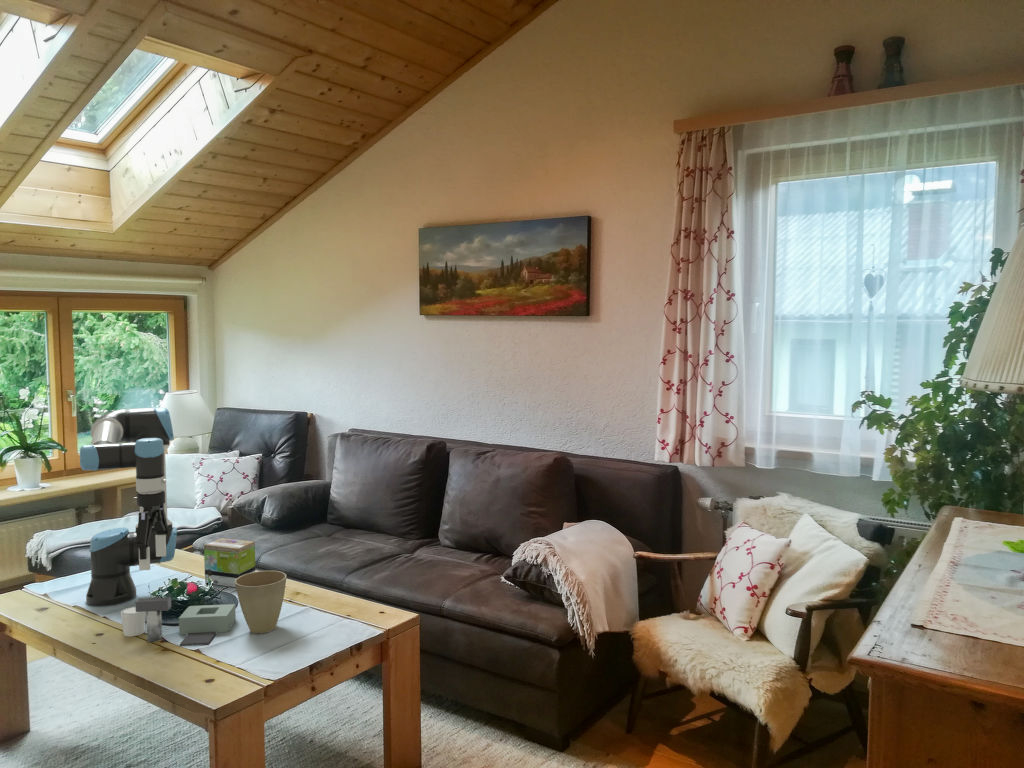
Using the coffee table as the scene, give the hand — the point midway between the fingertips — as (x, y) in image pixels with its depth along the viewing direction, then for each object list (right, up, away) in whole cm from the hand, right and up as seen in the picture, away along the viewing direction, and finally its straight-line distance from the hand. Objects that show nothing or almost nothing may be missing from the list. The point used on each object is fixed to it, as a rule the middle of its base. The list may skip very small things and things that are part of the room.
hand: (153, 562), depth 220 cm
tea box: (+3, -20, +53) cm, 57 cm away
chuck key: (0, -23, +1) cm, 23 cm away
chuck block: (+12, -22, +11) cm, 27 cm away
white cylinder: (-9, -23, +6) cm, 25 cm away
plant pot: (+29, -23, +9) cm, 38 cm away
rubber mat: (+13, -23, +1) cm, 26 cm away
